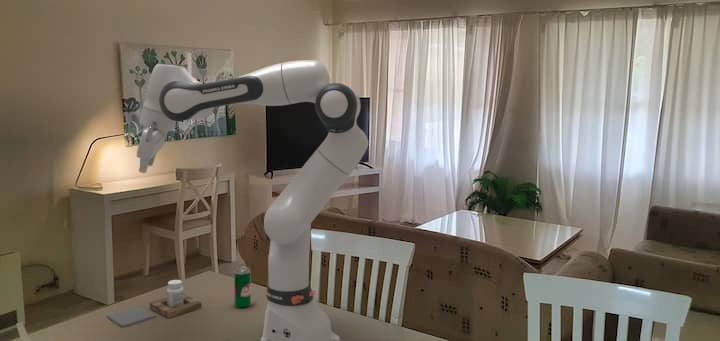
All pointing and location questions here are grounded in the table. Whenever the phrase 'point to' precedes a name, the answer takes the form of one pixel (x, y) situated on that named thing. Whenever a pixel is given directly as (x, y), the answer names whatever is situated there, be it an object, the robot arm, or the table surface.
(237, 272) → the soda can
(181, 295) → the pill bottle
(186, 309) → the frame
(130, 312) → the grey mat
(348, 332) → the table surface
